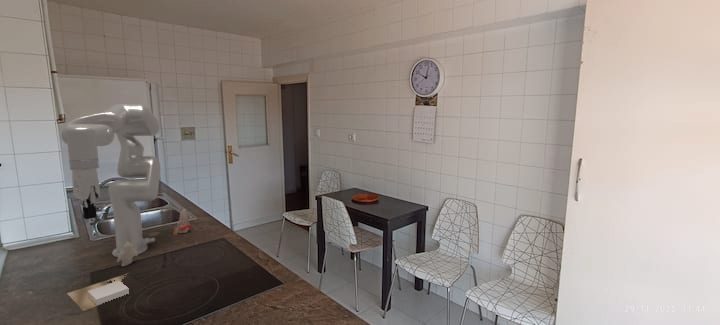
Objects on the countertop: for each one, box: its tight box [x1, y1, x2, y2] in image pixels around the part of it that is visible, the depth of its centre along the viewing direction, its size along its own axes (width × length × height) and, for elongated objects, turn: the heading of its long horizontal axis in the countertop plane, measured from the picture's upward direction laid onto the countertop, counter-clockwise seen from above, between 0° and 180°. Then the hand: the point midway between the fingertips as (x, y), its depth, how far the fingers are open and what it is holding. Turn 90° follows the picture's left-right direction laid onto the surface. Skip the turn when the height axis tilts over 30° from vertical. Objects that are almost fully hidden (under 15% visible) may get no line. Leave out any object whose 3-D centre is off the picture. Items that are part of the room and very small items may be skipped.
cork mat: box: [66, 273, 128, 312], centre depth 118 cm, size 18×16×1 cm
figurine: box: [173, 209, 192, 236], centre depth 173 cm, size 9×7×12 cm
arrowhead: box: [116, 242, 139, 267], centre depth 136 cm, size 8×3×10 cm, turn 154°
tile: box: [88, 281, 130, 306], centre depth 115 cm, size 9×2×8 cm
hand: (90, 217), depth 117 cm, fingers closed
